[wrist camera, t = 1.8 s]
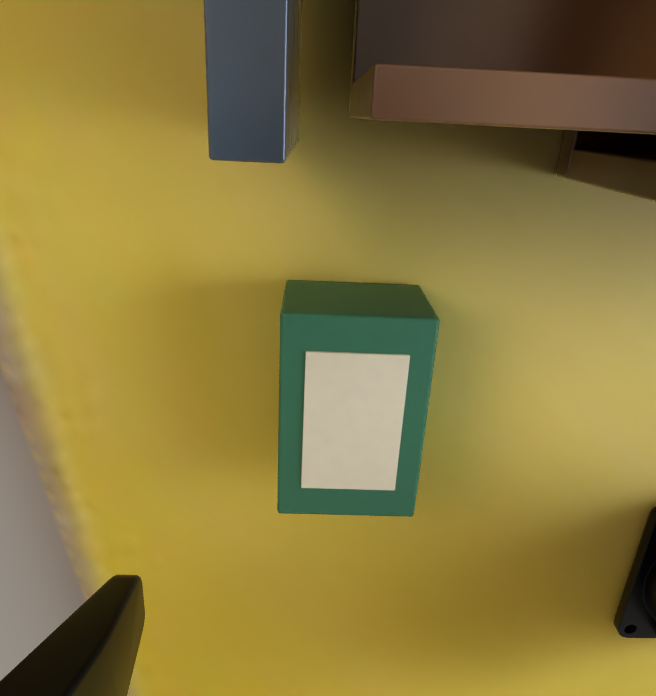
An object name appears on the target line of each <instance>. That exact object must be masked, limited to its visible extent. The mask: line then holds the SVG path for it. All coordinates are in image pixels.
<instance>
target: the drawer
mask: <svg viewBox="0 0 656 696" xmlns="http://www.w3.org/2000/svg"><path fill="white" fill-rule="evenodd" d="M204 23H205V53H206V83H207V112H208V142H209V158H210V159H211V160H221V161H242V162H263V163H285V161H286V160H287V158H288V157H289V155H290V154H291V152H292V151H293V149H294V148H295V146H296V145H297V143H298V141H299V104H300V64H301V24H302V0H204ZM349 117H351V118H359V119H369V120H384V121H403V122H423V123H443V124H462V125H482V126H501V127H521V128H540V129H560V130H580V131H599V132H619V133H638V134H656V0H356V3H355V20H354V38H353V55H352V73H351V90H350V108H349Z"/></svg>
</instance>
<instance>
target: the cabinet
mask: <svg viewBox="0 0 656 696" xmlns="http://www.w3.org/2000/svg"><path fill="white" fill-rule="evenodd" d="M556 174H557V176H559V177H563V178H567V179H570V180H574V181H578V182H582V183H585V184H589V185H593V186H597V187H601V188H605V189H609V190H613V191H616V192H620V193H624V194H628V195H632V196H636V197H640V198H644V199H647V200H651V201H655V202H656V134H638V133H619V132H599V131H580V130H565V132H564V137H563V142H562V147H561V152H560V157H559V163H558V168H557V173H556Z"/></svg>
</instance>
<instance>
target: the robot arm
mask: <svg viewBox="0 0 656 696" xmlns="http://www.w3.org/2000/svg"><path fill="white" fill-rule="evenodd" d="M144 619H145V608H144V597H143V586H142V580H141V578H140V577H139V576H137V575H115V576H113V577H112V578H111V579H109V580H108V581H107V582H106V583H105V584H104V585H103V586H102V587H101V588H100V589H99V590H98V591H97V592H95V593H94V594H93V595H92V596H91V597H90V598H89V599H88V600H87V601H86V602H85V603H84V604H83V605H82V606H80V607H79V608H78V609H77V610H76V611H75V612H74V613H73V614H72V615H71V616H70V617H69V618H68V619H67V620H66V621H65V622H63V623H62V624H61V625H60V626H59V627H58V628H57V629H56V630H55V631H54V632H53V633H52V634H50V635H49V636H48V637H47V638H46V639H45V640H44V641H43V642H42V643H41V644H40V645H39V646H38V647H37V648H36V649H34V650H33V651H32V652H31V653H30V654H29V655H28V656H27V657H26V658H25V659H24V660H23V661H22V662H20V663H19V664H18V665H17V666H16V667H15V668H14V669H13V670H12V671H11V672H10V673H9V674H8V675H7V676H5V677H4V678H3V679H2V680H1V681H0V696H127V693H128V689H129V685H130V681H131V677H132V672H133V668H134V664H135V660H136V656H137V652H138V647H139V643H140V639H141V635H142V631H143V626H144ZM614 626H615V627H616V629H617V631H618V633H619V634H620V635H621V636H622V637H626V638H656V507H655V508H653V509H652V511H651V512H650V514H649V517H648V520H647V523H646V526H645V529H644V532H643V535H642V538H641V541H640V544H639V547H638V550H637V553H636V556H635V559H634V562H633V565H632V568H631V571H630V574H629V577H628V579H627V582H626V585H625V588H624V591H623V594H622V597H621V600H620V603H619V606H618V609H617V612H616V615H615V618H614Z"/></svg>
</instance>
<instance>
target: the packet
mask: <svg viewBox="0 0 656 696" xmlns="http://www.w3.org/2000/svg"><path fill="white" fill-rule="evenodd" d="M438 328H439V318H438V317H437V315H436V313H435V312H434V310H433V308H432V306H431V305H430V303H429V301H428V300H427V298H426V296H425V295H424V293H423V291H422V290H421V288H420V286H418V285H401V284H377V283H352V282H327V281H303V280H288V281H287V282H286V286H285V292H284V297H283V303H282V308H281V314H280V369H279V436H278V503H277V510H278V513H293V514H331V515H370V516H409V517H411V516H413V515H414V509H415V501H416V494H417V486H418V479H419V471H420V464H421V456H422V449H423V441H424V434H425V426H426V418H427V411H428V403H429V396H430V388H431V381H432V373H433V366H434V358H435V351H436V343H437V336H438Z"/></svg>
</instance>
